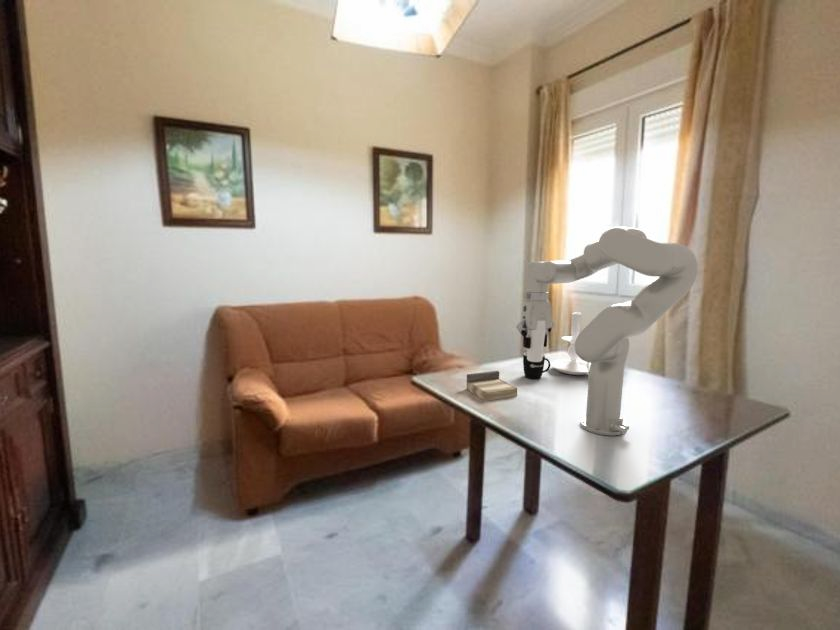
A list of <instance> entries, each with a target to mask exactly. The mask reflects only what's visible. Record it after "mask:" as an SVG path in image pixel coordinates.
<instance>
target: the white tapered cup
mask: <svg viewBox="0 0 840 630" xmlns="http://www.w3.org/2000/svg"><path fill="white" fill-rule="evenodd" d="M527 331H528V330H527ZM545 332H546V329H545V320H542V321H537V329H536V330H531V333H530V336H529V337H530V338H531V343H530V349H528V348H526V352H527V360H528V361H531V362H541V361H542V357H543V354H544V348H545V347H544V340H545ZM526 333H527V332H526Z"/></svg>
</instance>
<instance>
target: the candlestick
mask: <svg viewBox="0 0 840 630" xmlns="http://www.w3.org/2000/svg"><path fill="white" fill-rule="evenodd" d="M581 318H582V313H581V312H580V311H574V312H572V314H571V323H570V324H571V328H570V335H569V336H568V335H567V336H566V335H565V336H561V339H562V340H564V341H567V342H569V343H570V345H569V346H568V349H566V350H567V351H566V352H567V355H568V357H569V358H570V359H555V360H553V361H550V367H551V368H554V369H555V370H557V371H558V372H560V373H563V374H568V375H572V376H573V375H574V376H575V375H576V376H583V375H587V376H589V370H590V365H591V362H586V361H584V360H577V358H579V356H578V355H577V353H576V351H575V341H576V338H577V337H578V335H579V334H580V331H581V321H582V319H581Z"/></svg>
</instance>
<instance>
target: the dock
mask: <svg viewBox="0 0 840 630" xmlns="http://www.w3.org/2000/svg"><path fill="white" fill-rule="evenodd" d="M466 390H467V391H469V392H470V393H472V394H473V395H475V396H477V397H478V398H480V399H482V400H483V401H484V402H485V401H492V400H493V401H494V400H499V399H506V398H507V399H508V398H512V397H518V387H516V386H515V385H512V384H510V383H508V382H507V381H504V380H502V379H500V370H491V371H483V372H476V373H469V374H468V373H467V374H466Z"/></svg>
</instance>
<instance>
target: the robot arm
mask: <svg viewBox="0 0 840 630" xmlns="http://www.w3.org/2000/svg"><path fill="white" fill-rule="evenodd" d="M618 264H619V265H621V266H623V267H626V268H627V269H629V270H631V271H635V272H637V273H639V274H641V275H644V276H648V277H655V278H654V279H653V280H651V281H650V282H649V283H648V284H646V285H645V286H644V287H643V288H641V290H640V291H639V292H638V293H637V294H635V296H634V297H632V298H631V299H629V300H628V301H626V302H622V303H614V304H611V305H609V306H607V307H606V308H604V309H603V310H602V311H600V312H599V313H598V314H597V315H596V316H595V317H594V318H593V319H592V320H591V321H590V322H589V323H588V324H587V325H586V326H585V327H584V328H583V329H582V330H580V332H579V335H578V337H577V338H576V341H575V351H576V353H577V355H578V356H579V357H578V358H579V359H581V361H583V362H591V365H590V370H589V375H588V381H587V382H588V384H587V386H588V387H587V399H586V400H587V401H586V410H585V411H586V413H585V414H586V415H585V416H583V417H582V418H580V420H579V421H580V422H579V423H580V426H581V427H582V428H583V429H584V430H586V431H588V432H590V433H593V434H597V435H601V436H610V437H611V436H613V437H614V436H615V437H616V436H619V435H626V434H627V433H628V431H629V430H630V426H629V425H627V424H624V423H623V421H624V418H623V417H621V410H622V409H621V408H622V397H623V396H622V395H623V385H624V375H625V367H626V361H627V358H628V354H629V350H630V340H629V338H631V337H632V338H633V337H635V336H640V335H642V334H644V333H645V332H646V331H648V330H649V329H650V328H651V327H652V326H653V325H654V324H655V323H656V322H657V321H658V320H660V319H661V318H662V317H663V316H664V315H665V314H667V312H669V311H670V309H671V308H673V307H674V306H675V305H676V304H677V303H678V302H680V301H681V299H683V298H684V297H685V296H686V295H687V294H688V293H689V291H690V290H691V289H692V287H693V286H694V284H695V282H696V280H697V276H698V270H699V269H698V268H699V265H698V260H697V257H696V256H695V253H694V252H693V250H691V249H690V248H689V247H688V246H686V245H684V244H681V243H678V242H659V241H654V240H652V239H649V238H648V237H647V235H646V234H645V232H643V231H642V230H641V229H638V228H636V227H629V226H628V227H627V226H614V227H610V228H608V229H607V230H605V231H604V232H603V233H602V234H601V236H600V237H599V239H598V240H597V241H594V242H591V243H589V244H587V245H586V246H585V247H584V249H583V254H580V255H579V256H577V257H574V258H572V259H570V260H569V259H568V260H549V261H530V262H528V263H527V265H526V273H525V275H526V278H525V280H526V281H525V294H523V299H525V300H524V302H523V305H522V311H521V319H520V321H519V323H518V324H517V325H516V327H515V328H516V330H517V331H518V332H519V333H520V334H521V336H522V337H523V339H522V346H523V348H525V349H527V348H528V349H530V343H531V338H530V337H529V336H530V333H531V330H536V329H537V321H542V320H545V329H546V332H545V340H544V347H543V348H546V347H547V345H548V336H549V335H550V333H551V331H552V329H553V328H554V327H555V325H556V324H555V323H554V322H553V320H552V318H553V317H552V306H551V305H552V304H551V301H550V300H549V285H554V284H555V285H556V284H570V283H573V282H576V281H579V280H582V279H585V278H587V277H590V276H593V275H594V274H596V273H598V272H599V271H601V270H603V269H606V268H609V267H612V266H615V265H618ZM527 330H528V331H527ZM526 332H527V333H526Z"/></svg>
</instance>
